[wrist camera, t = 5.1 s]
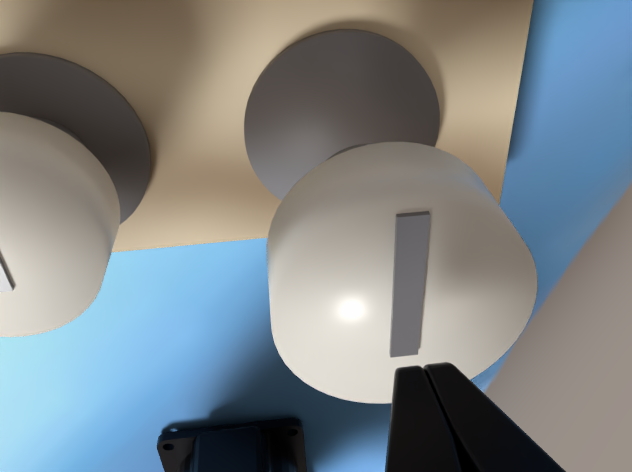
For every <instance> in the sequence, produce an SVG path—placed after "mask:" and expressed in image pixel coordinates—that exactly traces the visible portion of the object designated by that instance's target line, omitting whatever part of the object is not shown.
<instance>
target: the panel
mask: <svg viewBox="0 0 632 472" xmlns="http://www.w3.org/2000/svg"><path fill="white" fill-rule="evenodd" d="M533 2H534V0H0V112H9V113H15V114H19V115H24V116H28V117H33V118H41V119H46V120H49V121H52V122H55V123H57V124H60V125H62V126H63V127H65V128H67V129H68V130H70V131H71V132H73V133H74V134H75V135H76V136H77V137H78V138H79V139H80V140H81V141H82V142H83V143H84V145H85V146H86V148H87V149H88V150H89V151H90V152H91V153H92V154H93V155H94V156H95V157H96V158H97V159H98V160H99V162H100V163H101V164H102V166H103V167H104V168H105V170H106V171H107V173H108V174H109V176H110V178H111V180H112V182H113V184H114V186H115V189H116V192H117V195H118V199H119V204H120V223H119V229H118V232H117V235H116V239H115V242H114V245H113V249H112V252H120V251H131V250H142V249H152V248H163V247H173V246H184V245H194V244H205V243H215V242H226V241H236V240H247V239H257V238H268V232H269V229H270V225H271V222H272V219H273V217H274V215H275V213H276V211H277V208H278V207H279V205H280V203H281V202H282V200H283V199H284V197H285V196H286V194H287V193H288V192H289V191H290V190H291V189H292V187H293V186H294V185H295V184H296V183H297V182H298V181H299V180H300V179H301V178H303V177H304V176H305V175H306V174H307V173H308V172H310V171H311V170H312V169H314V168H315V167H317V166H318V165H320V164H321V163H323V162H325V161H326V160H327V159H328V158H329V157H331V156H332V155H334V154H335V153H337V152H339V151H341V150H343V149H345V148H348V147H351V146H354V145H359V144H370V143H373V144H375V143H382V142H411V143H419V144H424V145H428V146H432V147H435V148H438V149H441V150H443V151H446V152H448V153H450V154H452V155H453V156H455V157H457V158H459V159H460V160H462V161H463V162H464V163H465V164H467V165H468V166H469V167H471V168H472V169H473V171H474V172H475V173H476V174H477V175H478V176H479V177H480V178H481V180H482V181H483V183H484V184H485V186H486V187H487V189H488V190H489V191H490V193H491V194H492V196H493V197H494V199H495V200H496V201H497V203H498V204H500V198H501V192H502V186H503V180H504V174H505V168H506V162H507V156H508V150H509V144H510V138H511V132H512V126H513V120H514V115H515V109H516V103H517V97H518V91H519V85H520V79H521V73H522V67H523V61H524V55H525V49H526V43H527V37H528V31H529V25H530V20H531V14H532V8H533Z"/></svg>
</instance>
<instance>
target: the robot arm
mask: <svg viewBox="0 0 632 472" xmlns="http://www.w3.org/2000/svg"><path fill="white" fill-rule="evenodd" d="M157 450H158V453H159V456H160V459H161V462H162V465H163V468H164V471H165V472H307V469H306V458H305V446H304V434H303V424H302V422H301V421H300V420H299V419H296V418H288V419H279V420H270V421H262V422H253V423H244V424H236V425H227V426H218V427H210V428H201V429H192V430H184V431H175V432H167V433H163V434H161V435H160V436H159V437H158V443H157ZM385 472H566V471H565V470H564V469H563V468H561V467H560V466H559V465H558V464H557V463H556V462H555V461H554V460H553V459H552V458H551V457H550V456H549V455H548V454H547V453H546V452H545V451H544V450H543V449H542V448H541V447H539V446H538V445H537V444H536V443H535V442H534V441H533V440H532V439H531V438H530V437H529V436H528V435H527V434H526V433H525V432H524V431H523V430H522V429H521V428H520V427H519V426H517V425H516V424H515V423H514V422H513V421H512V420H511V419H510V418H509V417H508V416H507V415H506V414H505V413H504V412H503V411H502V410H501V409H500V408H499V407H498V406H497V405H495V404H494V403H493V402H492V401H491V400H490V399H489V398H488V397H487V396H486V395H485V394H484V393H483V392H482V391H481V390H480V389H479V388H478V387H477V386H476V385H475V384H473V383H472V382H471V381H470V380H469V379H468V378H467V377H466V376H465V375H464V374H463V373H462V372H461V371H460V370H459V369H458V368H457V367H456V366H455V365H453V364H452V363H449V362H442V363H433V364H427V365H425V366H424V367H423V368H422V367H421V366H419V365H416V366H407V367H399V368H397V369H396V370H395V374H394V384H393V394H392V404H391V414H390V425H389V435H388V445H387V456H386V466H385Z"/></svg>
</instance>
